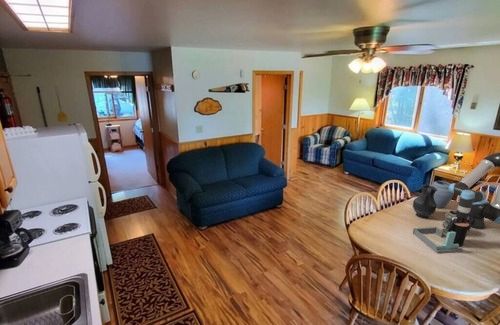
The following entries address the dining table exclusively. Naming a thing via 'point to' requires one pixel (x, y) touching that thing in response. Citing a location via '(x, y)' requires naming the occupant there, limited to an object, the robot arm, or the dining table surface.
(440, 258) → the dining table surface
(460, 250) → the grey piece
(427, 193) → the pitcher
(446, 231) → the apothecary jar
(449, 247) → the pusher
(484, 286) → the dining table surface
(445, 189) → the vase
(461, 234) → the coffee jar
